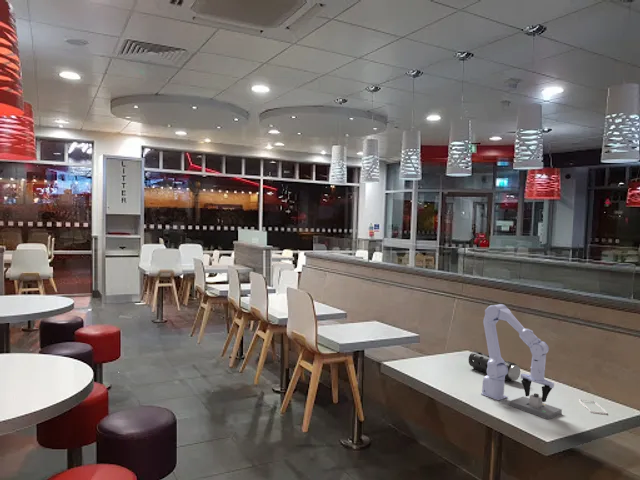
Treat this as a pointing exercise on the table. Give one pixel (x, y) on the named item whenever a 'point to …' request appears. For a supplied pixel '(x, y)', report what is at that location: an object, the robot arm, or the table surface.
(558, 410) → the charging plate
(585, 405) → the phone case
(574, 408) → the table surface
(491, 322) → the robot arm
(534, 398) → the charger plug
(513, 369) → the muzzle brake
